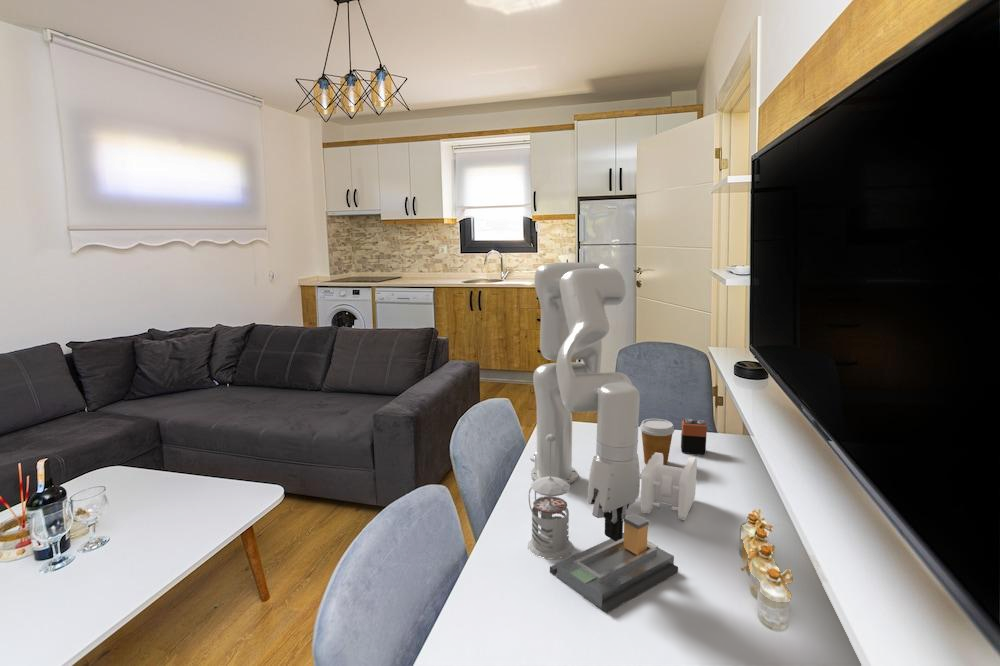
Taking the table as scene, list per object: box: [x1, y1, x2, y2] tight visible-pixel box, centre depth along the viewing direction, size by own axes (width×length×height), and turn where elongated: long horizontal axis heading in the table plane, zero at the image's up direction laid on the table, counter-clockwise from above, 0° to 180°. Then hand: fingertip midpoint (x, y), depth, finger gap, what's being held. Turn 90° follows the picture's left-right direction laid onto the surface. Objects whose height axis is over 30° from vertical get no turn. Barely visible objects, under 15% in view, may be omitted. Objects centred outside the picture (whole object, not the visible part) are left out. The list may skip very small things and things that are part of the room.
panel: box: [556, 532, 675, 611], centre depth 112 cm, size 12×20×4 cm, turn 126°
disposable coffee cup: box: [639, 418, 676, 466], centre depth 163 cm, size 10×10×12 cm
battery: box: [680, 417, 708, 455], centre depth 172 cm, size 4×7×10 cm, turn 77°
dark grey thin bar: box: [600, 564, 679, 614], centre depth 107 cm, size 1×20×1 cm, turn 126°
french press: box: [527, 434, 574, 560], centre depth 121 cm, size 10×12×25 cm
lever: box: [623, 513, 649, 555], centre depth 114 cm, size 4×3×6 cm
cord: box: [549, 563, 557, 576], centre depth 118 cm, size 1×20×1 cm, turn 126°
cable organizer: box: [640, 452, 698, 521], centre depth 137 cm, size 15×11×12 cm
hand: (613, 536), depth 111 cm, fingers closed
